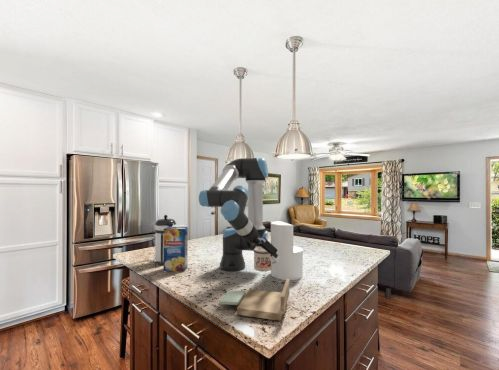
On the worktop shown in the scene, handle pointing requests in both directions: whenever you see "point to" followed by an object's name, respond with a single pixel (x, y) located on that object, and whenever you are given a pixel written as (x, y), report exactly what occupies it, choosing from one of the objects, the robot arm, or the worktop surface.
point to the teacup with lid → (262, 260)
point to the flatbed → (264, 303)
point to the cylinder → (286, 252)
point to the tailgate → (232, 297)
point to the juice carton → (175, 248)
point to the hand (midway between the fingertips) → (269, 258)
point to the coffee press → (161, 237)
